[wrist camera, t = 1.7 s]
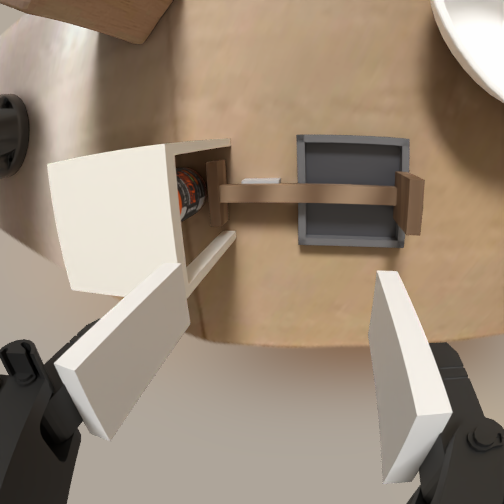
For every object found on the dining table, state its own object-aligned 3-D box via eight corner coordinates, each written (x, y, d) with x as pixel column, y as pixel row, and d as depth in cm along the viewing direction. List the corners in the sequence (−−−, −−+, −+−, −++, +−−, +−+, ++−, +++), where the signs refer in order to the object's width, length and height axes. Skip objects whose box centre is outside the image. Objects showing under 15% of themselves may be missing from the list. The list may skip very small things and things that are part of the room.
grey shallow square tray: (299, 240, 37) (298, 244, 36) (297, 134, 33) (296, 134, 31) (400, 243, 34) (403, 247, 33) (405, 138, 30) (409, 138, 29)
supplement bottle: (218, 193, 37) (177, 217, 27) (185, 224, 39) (139, 257, 29) (185, 155, 36) (134, 167, 26) (155, 188, 39) (100, 210, 28)
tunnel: (149, 236, 41) (71, 289, 27) (138, 147, 37) (47, 163, 22) (282, 239, 37) (254, 308, 23) (279, 136, 33) (245, 136, 19)
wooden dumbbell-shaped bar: (219, 219, 38) (195, 239, 31) (214, 160, 35) (188, 167, 28) (401, 223, 33) (418, 246, 26) (404, 161, 31) (425, 168, 24)
